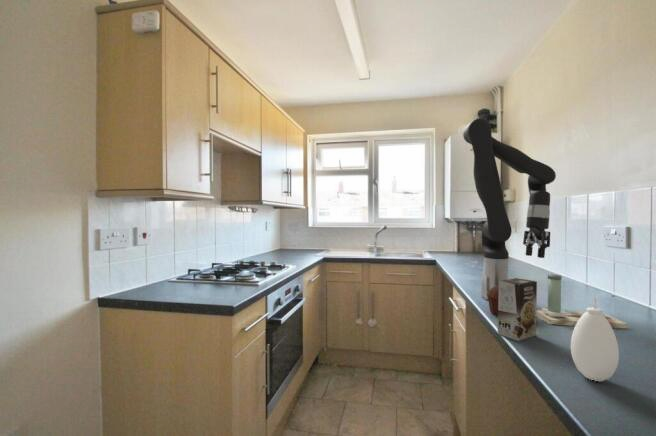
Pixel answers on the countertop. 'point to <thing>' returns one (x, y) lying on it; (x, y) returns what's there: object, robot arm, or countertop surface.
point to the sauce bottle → (594, 345)
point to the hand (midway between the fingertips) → (534, 256)
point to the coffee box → (517, 308)
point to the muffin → (493, 299)
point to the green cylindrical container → (554, 297)
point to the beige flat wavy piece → (576, 319)
